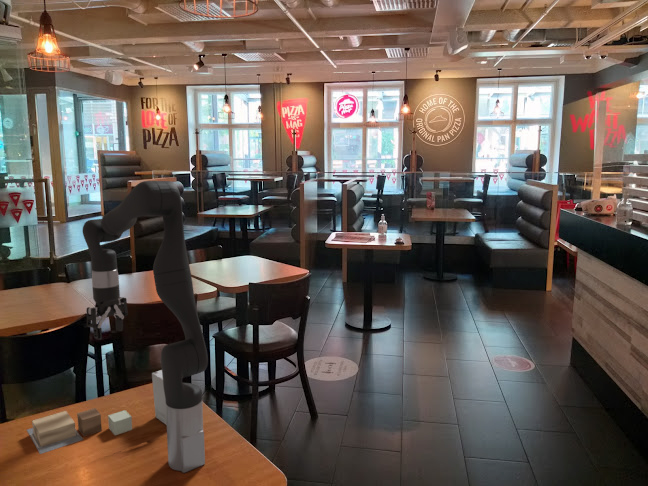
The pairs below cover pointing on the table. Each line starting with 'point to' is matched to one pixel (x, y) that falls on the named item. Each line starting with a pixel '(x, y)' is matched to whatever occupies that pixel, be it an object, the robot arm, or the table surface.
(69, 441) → the plate
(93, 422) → the block
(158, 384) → the skincare box
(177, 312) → the robot arm
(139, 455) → the table surface
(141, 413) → the table surface
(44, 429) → the pedestal
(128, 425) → the block
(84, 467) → the table surface
